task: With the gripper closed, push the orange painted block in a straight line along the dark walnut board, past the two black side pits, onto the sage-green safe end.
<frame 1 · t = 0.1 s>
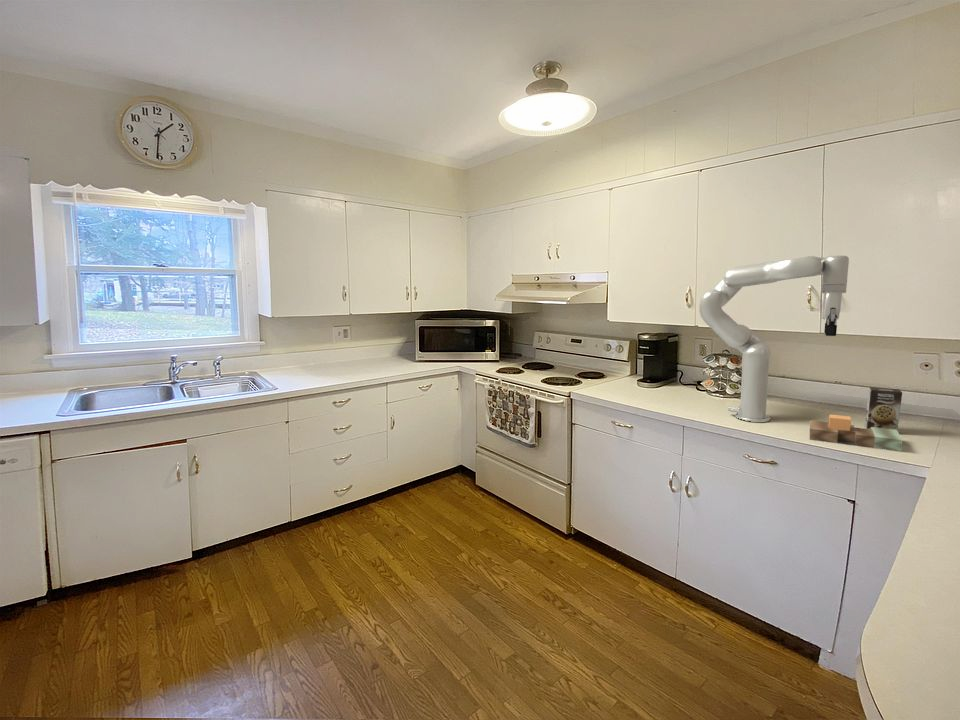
hand: (829, 334, 178), 37 cm above the worktop, tool pointing down, fingers open, 9 cm apart
coffee box: (880, 431, 177), on the worktop
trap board: (852, 440, 168), on the worktop
orange block: (839, 427, 170), point 4 cm above the worktop, touching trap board
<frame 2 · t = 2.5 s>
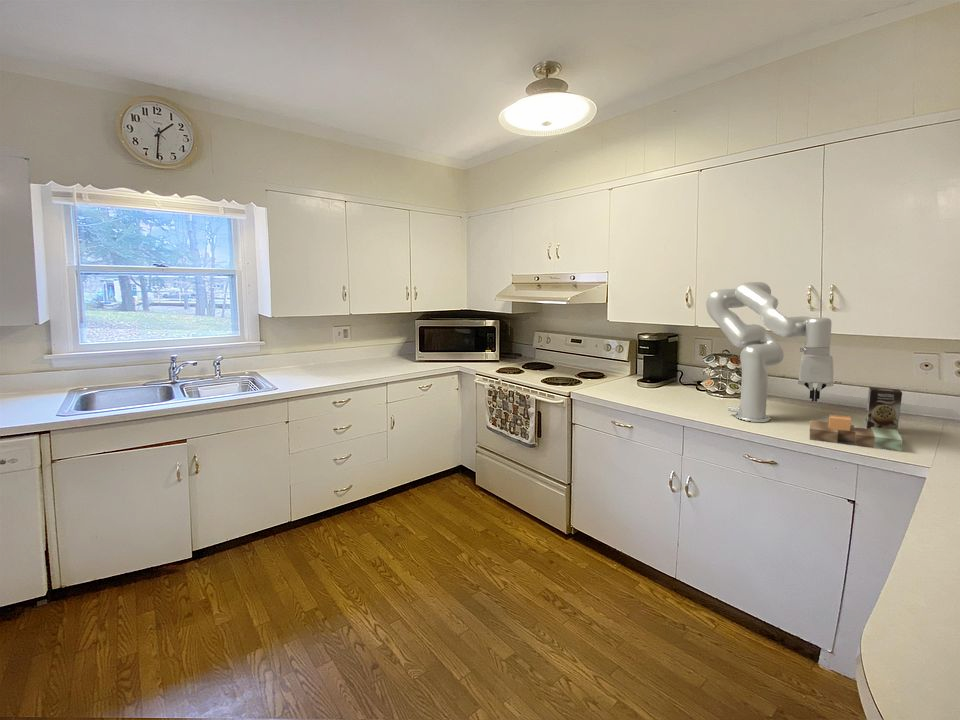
hand: (814, 400, 172), 13 cm above the worktop, tool pointing down, fingers closed
nothing on the worktop moved.
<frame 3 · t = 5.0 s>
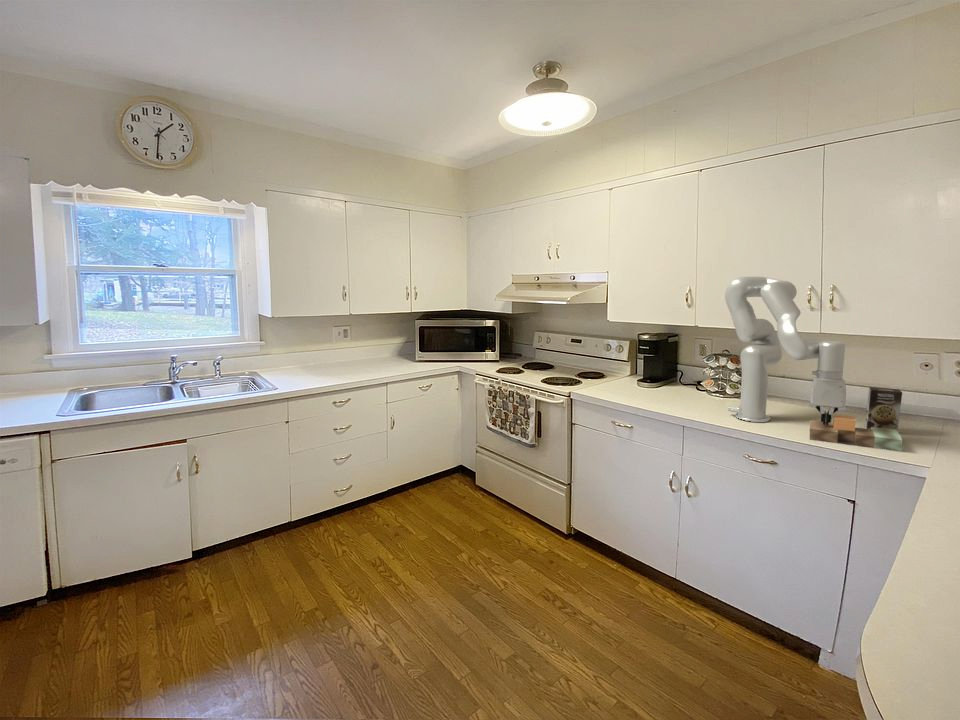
hand: (825, 423, 172), 5 cm above the worktop, tool pointing down, fingers closed
orange block: (843, 428, 169), point 4 cm above the worktop, touching gripper
everything else where it was.
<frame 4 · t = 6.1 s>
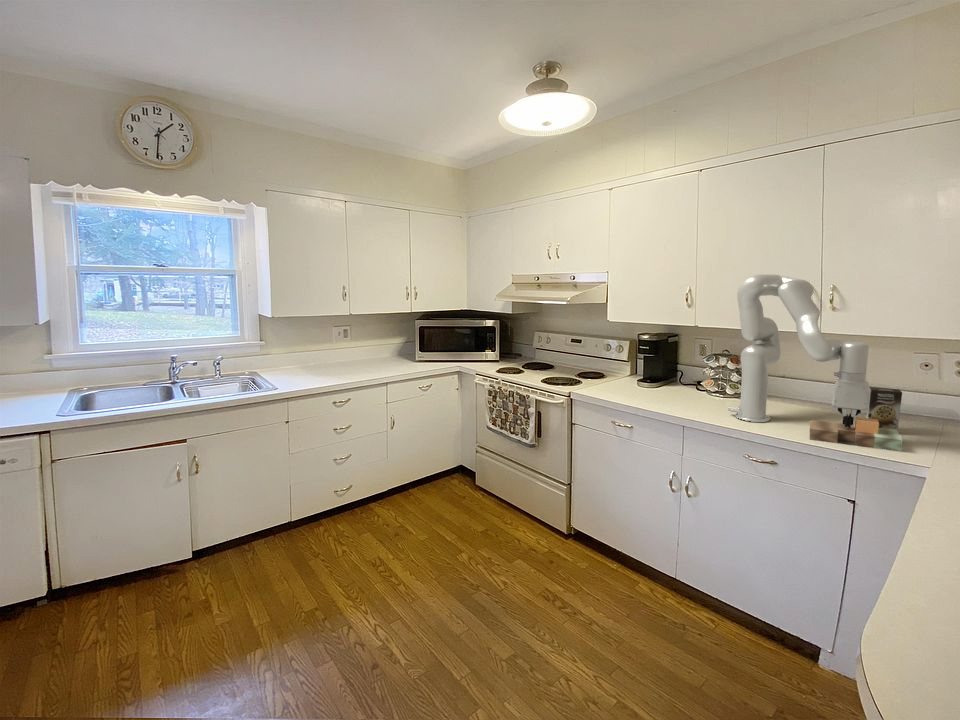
hand: (847, 426, 168), 5 cm above the worktop, tool pointing down, fingers closed
orange block: (866, 430, 165), point 4 cm above the worktop, touching gripper, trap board
everything else where it was.
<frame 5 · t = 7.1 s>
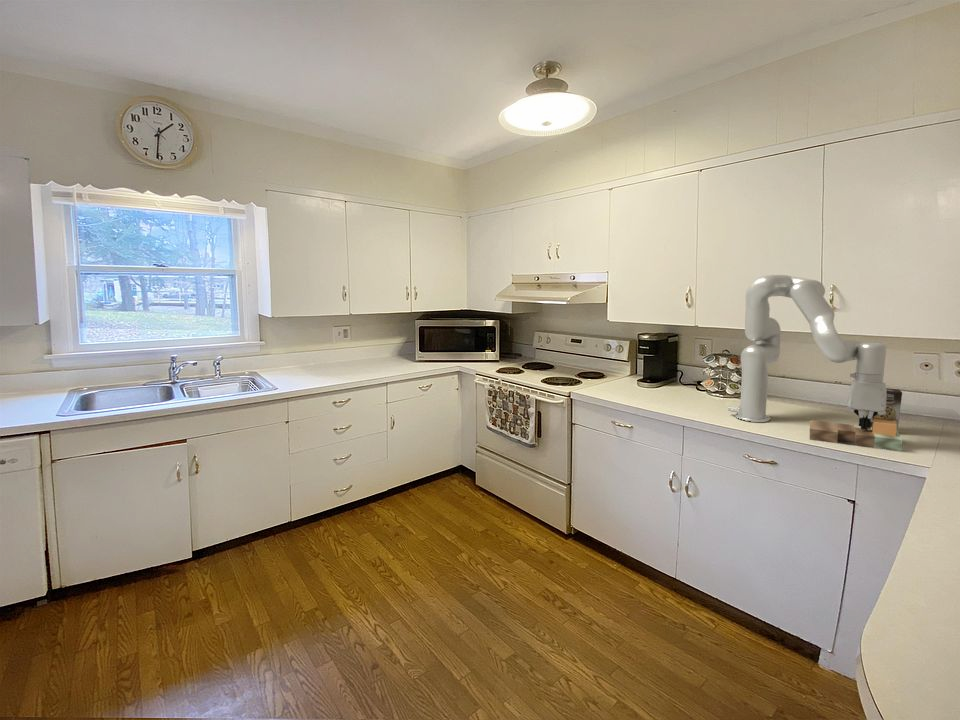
hand: (863, 428, 165), 5 cm above the worktop, tool pointing down, fingers closed
orange block: (883, 433, 162), point 4 cm above the worktop, touching gripper
everything else where it was.
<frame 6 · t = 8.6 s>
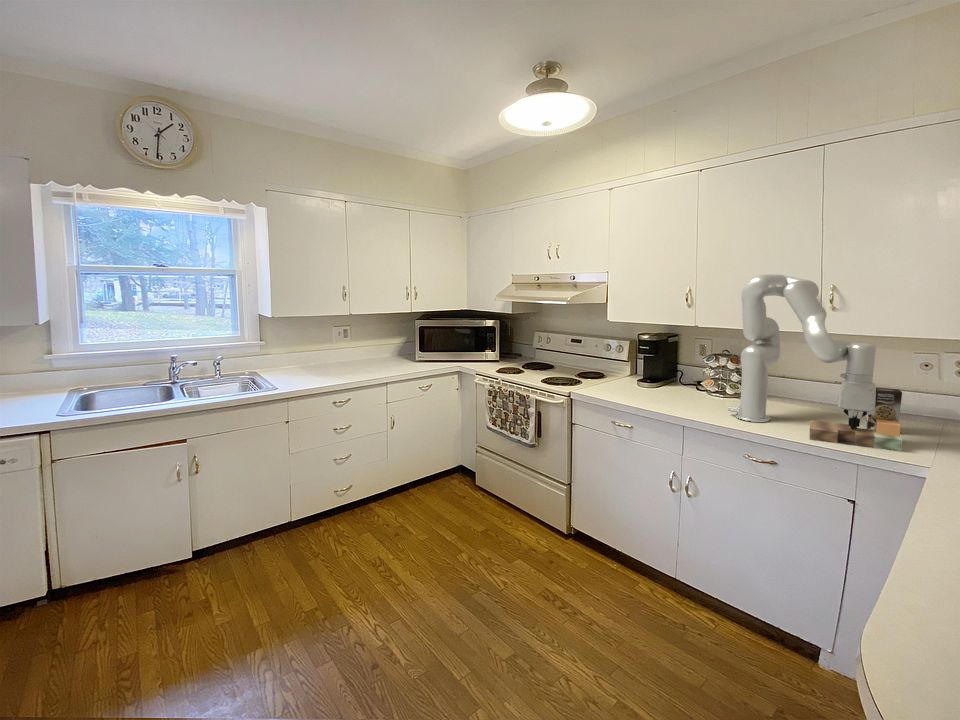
hand: (853, 428, 167), 4 cm above the worktop, tool pointing down, fingers closed
orange block: (887, 433, 162), point 4 cm above the worktop, touching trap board
everything else where it was.
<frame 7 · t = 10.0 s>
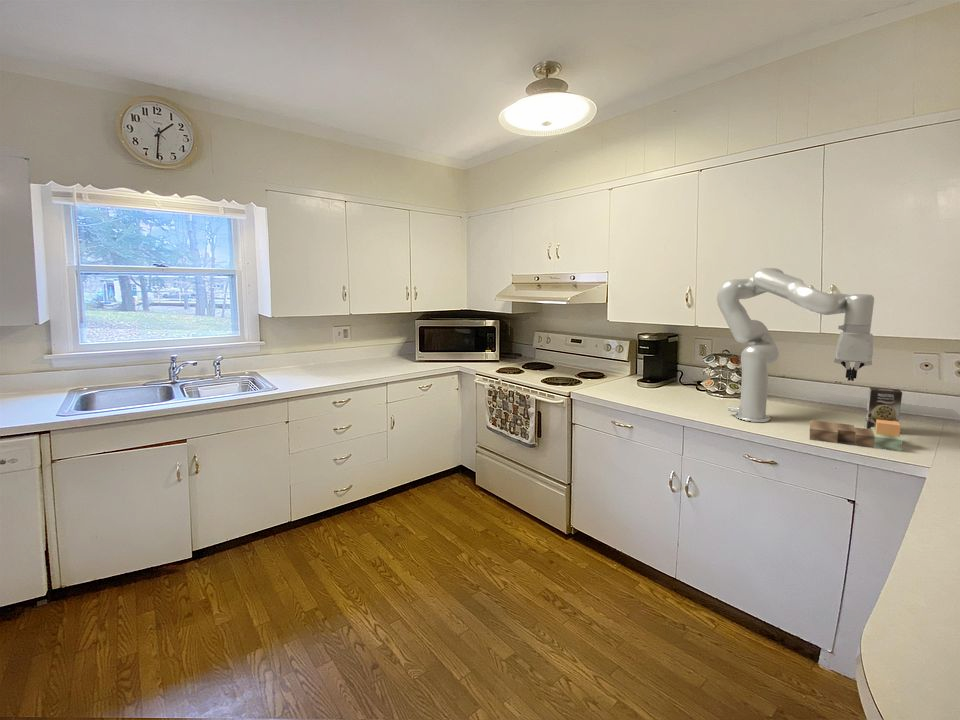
hand: (850, 380, 168), 21 cm above the worktop, tool pointing down, fingers closed
nothing on the worktop moved.
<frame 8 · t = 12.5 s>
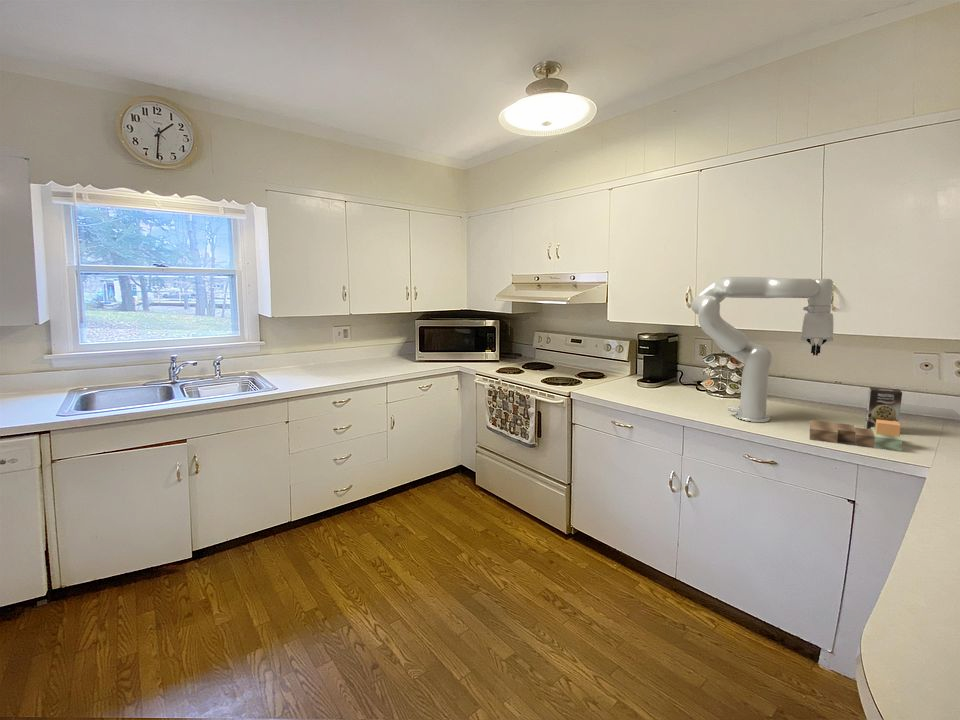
hand: (815, 355, 190), 27 cm above the worktop, tool pointing down, fingers closed
nothing on the worktop moved.
at the end: orange block inside the target area (0.5 cm from its centre), point 4.0 cm above the worktop; orange block tilted 0° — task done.
